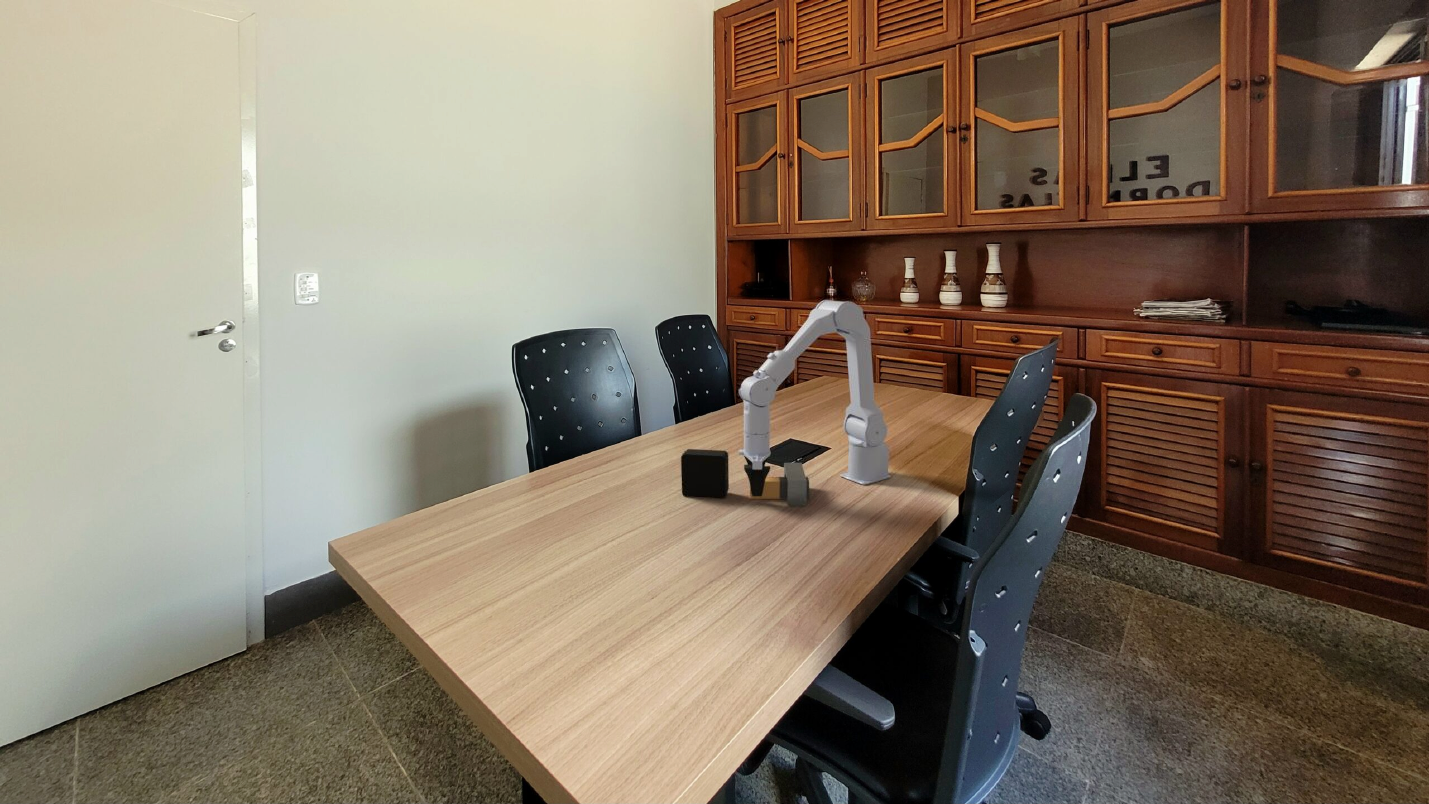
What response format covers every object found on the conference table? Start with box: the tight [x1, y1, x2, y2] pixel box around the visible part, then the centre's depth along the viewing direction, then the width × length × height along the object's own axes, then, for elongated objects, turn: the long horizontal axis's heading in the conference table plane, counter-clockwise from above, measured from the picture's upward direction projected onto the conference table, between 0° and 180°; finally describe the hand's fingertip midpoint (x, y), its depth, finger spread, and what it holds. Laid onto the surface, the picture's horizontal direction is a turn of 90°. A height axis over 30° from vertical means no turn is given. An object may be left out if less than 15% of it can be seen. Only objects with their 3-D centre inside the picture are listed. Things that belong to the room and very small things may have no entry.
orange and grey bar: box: [749, 476, 810, 500], centre depth 136 cm, size 13×3×4 cm, turn 87°
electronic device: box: [680, 448, 730, 500], centre depth 137 cm, size 4×10×10 cm, turn 78°
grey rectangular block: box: [783, 462, 807, 507], centre depth 136 cm, size 4×12×6 cm, turn 177°
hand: (756, 489), depth 137 cm, fingers open, 7 cm apart
